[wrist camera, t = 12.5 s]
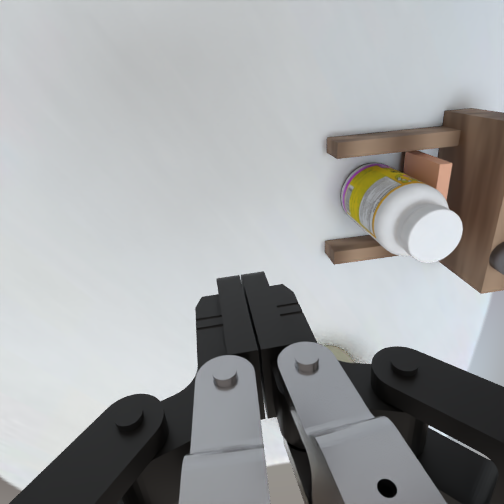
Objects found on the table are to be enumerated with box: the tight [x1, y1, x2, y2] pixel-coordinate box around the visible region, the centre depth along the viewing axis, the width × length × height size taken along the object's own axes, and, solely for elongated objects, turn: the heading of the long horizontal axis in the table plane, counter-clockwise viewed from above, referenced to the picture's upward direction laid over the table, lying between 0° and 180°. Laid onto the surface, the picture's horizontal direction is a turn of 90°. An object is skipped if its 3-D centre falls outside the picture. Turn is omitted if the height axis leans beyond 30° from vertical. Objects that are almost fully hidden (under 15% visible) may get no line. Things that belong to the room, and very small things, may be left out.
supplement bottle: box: [341, 163, 463, 263], centre depth 36 cm, size 7×7×13 cm
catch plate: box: [403, 150, 452, 200], centre depth 39 cm, size 1×9×6 cm, turn 4°
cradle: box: [325, 108, 504, 294], centre depth 37 cm, size 16×16×12 cm
